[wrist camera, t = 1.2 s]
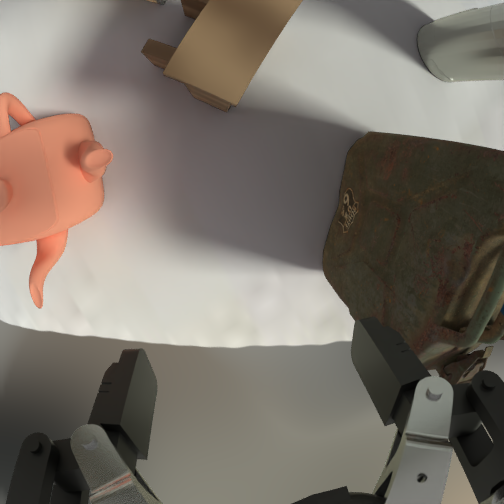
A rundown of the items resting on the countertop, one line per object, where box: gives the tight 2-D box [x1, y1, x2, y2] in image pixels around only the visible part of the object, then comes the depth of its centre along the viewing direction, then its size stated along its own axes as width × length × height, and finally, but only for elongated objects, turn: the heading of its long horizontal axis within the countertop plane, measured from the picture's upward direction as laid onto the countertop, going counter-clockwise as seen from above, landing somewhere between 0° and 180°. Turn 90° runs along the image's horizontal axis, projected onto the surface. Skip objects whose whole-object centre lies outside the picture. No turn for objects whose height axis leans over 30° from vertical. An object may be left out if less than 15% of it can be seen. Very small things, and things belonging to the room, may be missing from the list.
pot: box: [0, 93, 113, 308], centre depth 24 cm, size 18×17×12 cm
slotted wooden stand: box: [141, 0, 303, 113], centre depth 20 cm, size 13×10×15 cm
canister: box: [323, 132, 504, 385], centre depth 24 cm, size 19×8×25 cm, turn 170°
